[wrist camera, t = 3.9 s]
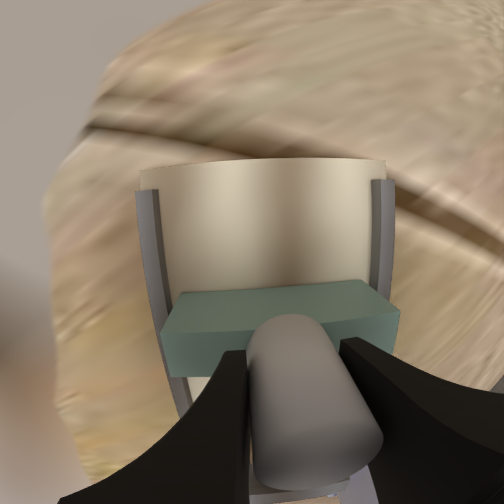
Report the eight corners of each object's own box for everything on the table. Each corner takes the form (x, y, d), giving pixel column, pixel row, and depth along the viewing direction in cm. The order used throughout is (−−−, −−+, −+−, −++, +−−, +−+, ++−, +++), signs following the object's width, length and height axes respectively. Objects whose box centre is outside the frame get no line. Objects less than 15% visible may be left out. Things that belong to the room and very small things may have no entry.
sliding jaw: (361, 269, 13) (488, 367, 4) (357, 322, 14) (450, 441, 5) (179, 283, 13) (101, 423, 4) (188, 337, 14) (145, 489, 5)
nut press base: (372, 162, 14) (436, 154, 8) (339, 453, 19) (355, 500, 13) (149, 172, 13) (97, 164, 8) (207, 466, 19) (203, 516, 13)
